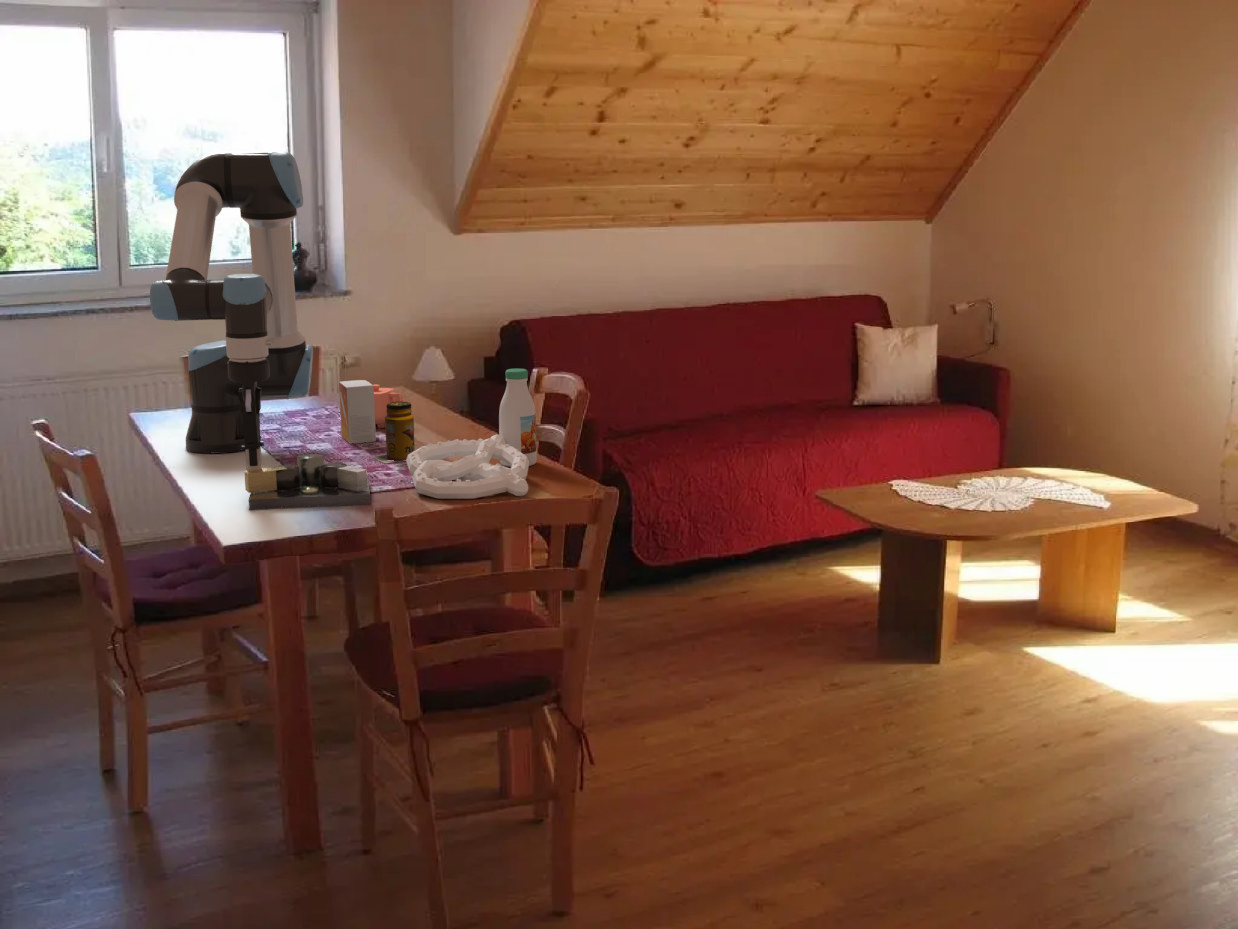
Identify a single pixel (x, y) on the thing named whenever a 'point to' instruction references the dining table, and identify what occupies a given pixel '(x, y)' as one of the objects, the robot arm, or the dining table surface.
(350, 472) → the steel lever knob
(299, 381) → the robot arm
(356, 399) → the small box
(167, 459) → the dining table surface
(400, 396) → the teapot
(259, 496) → the base plate
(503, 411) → the milk bottle
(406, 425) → the condiment
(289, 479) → the brass lever knob
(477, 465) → the pretzel
